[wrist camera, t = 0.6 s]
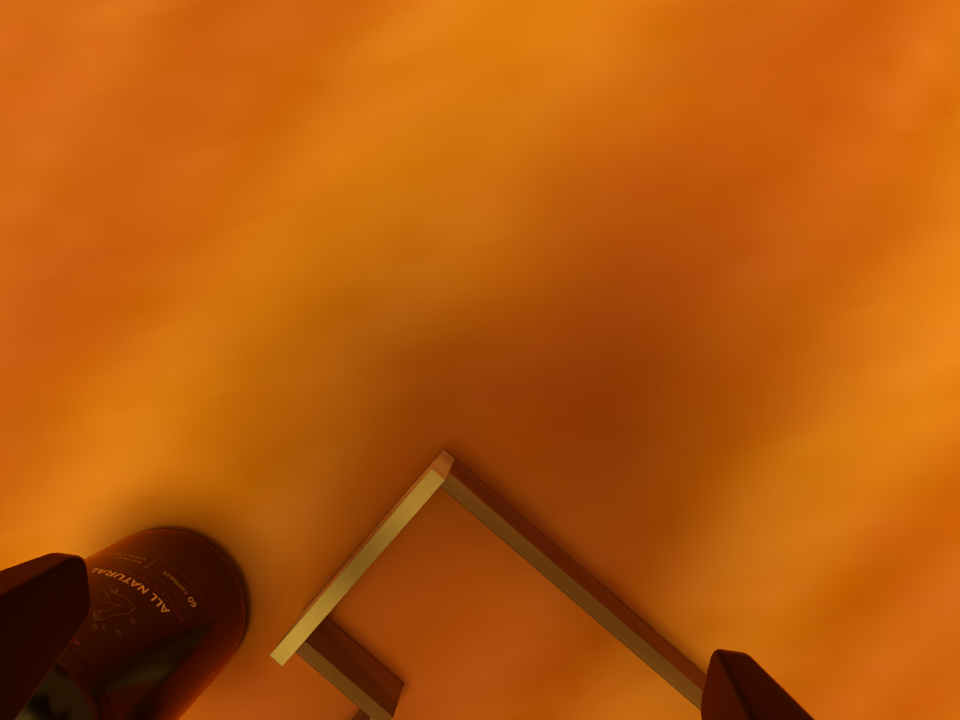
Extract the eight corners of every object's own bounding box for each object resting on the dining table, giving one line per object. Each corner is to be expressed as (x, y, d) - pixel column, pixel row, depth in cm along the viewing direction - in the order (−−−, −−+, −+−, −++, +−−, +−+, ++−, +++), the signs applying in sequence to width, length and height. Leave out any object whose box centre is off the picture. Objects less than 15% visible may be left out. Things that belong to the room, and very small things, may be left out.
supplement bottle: (236, 514, 24) (-46, 710, 12) (263, 671, 24) (17, 1011, 13) (81, 532, 25) (-333, 735, 13) (111, 686, 25) (-264, 1023, 13)
